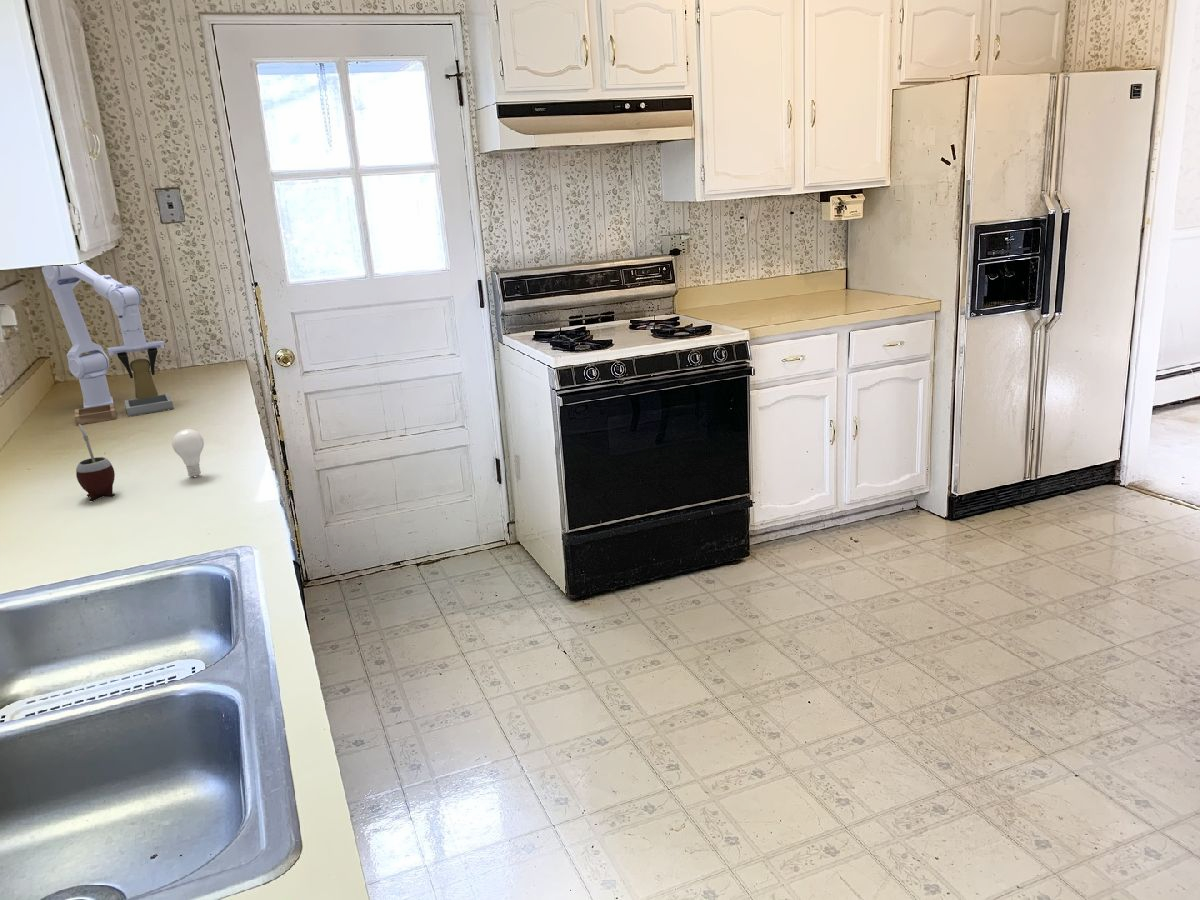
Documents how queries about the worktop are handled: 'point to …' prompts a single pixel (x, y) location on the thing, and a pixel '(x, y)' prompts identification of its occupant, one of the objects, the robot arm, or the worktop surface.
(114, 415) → the wooden square frame
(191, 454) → the lightbulb
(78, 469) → the mate gourd
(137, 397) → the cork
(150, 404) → the tray
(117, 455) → the worktop surface
